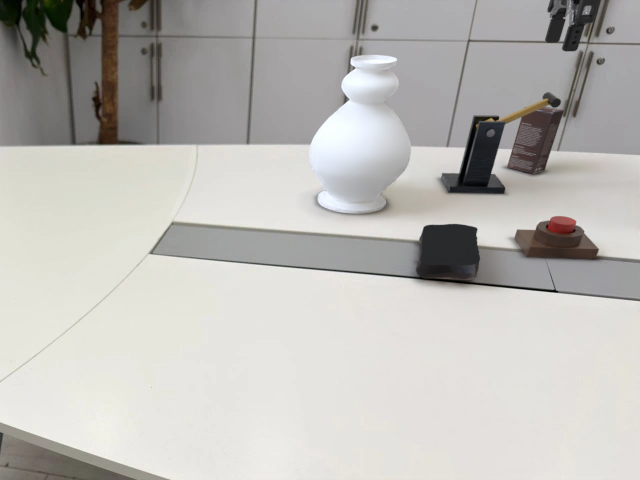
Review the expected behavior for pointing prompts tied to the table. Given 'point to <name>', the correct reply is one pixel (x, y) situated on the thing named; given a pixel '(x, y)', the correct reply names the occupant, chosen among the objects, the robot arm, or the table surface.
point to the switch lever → (532, 108)
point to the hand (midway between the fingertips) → (559, 46)
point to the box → (535, 140)
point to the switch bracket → (478, 159)
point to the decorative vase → (361, 140)
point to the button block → (555, 243)
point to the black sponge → (448, 252)
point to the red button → (561, 224)
